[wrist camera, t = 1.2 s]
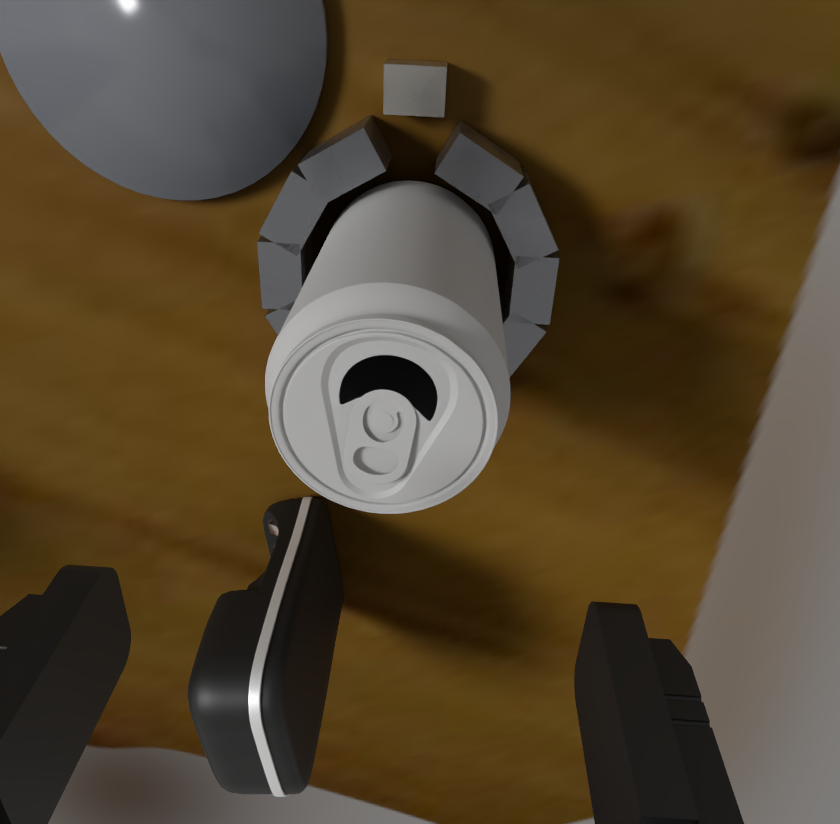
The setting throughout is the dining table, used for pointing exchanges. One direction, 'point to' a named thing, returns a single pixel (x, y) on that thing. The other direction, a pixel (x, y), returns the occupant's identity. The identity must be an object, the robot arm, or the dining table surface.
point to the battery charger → (271, 658)
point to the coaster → (170, 85)
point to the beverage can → (393, 355)
